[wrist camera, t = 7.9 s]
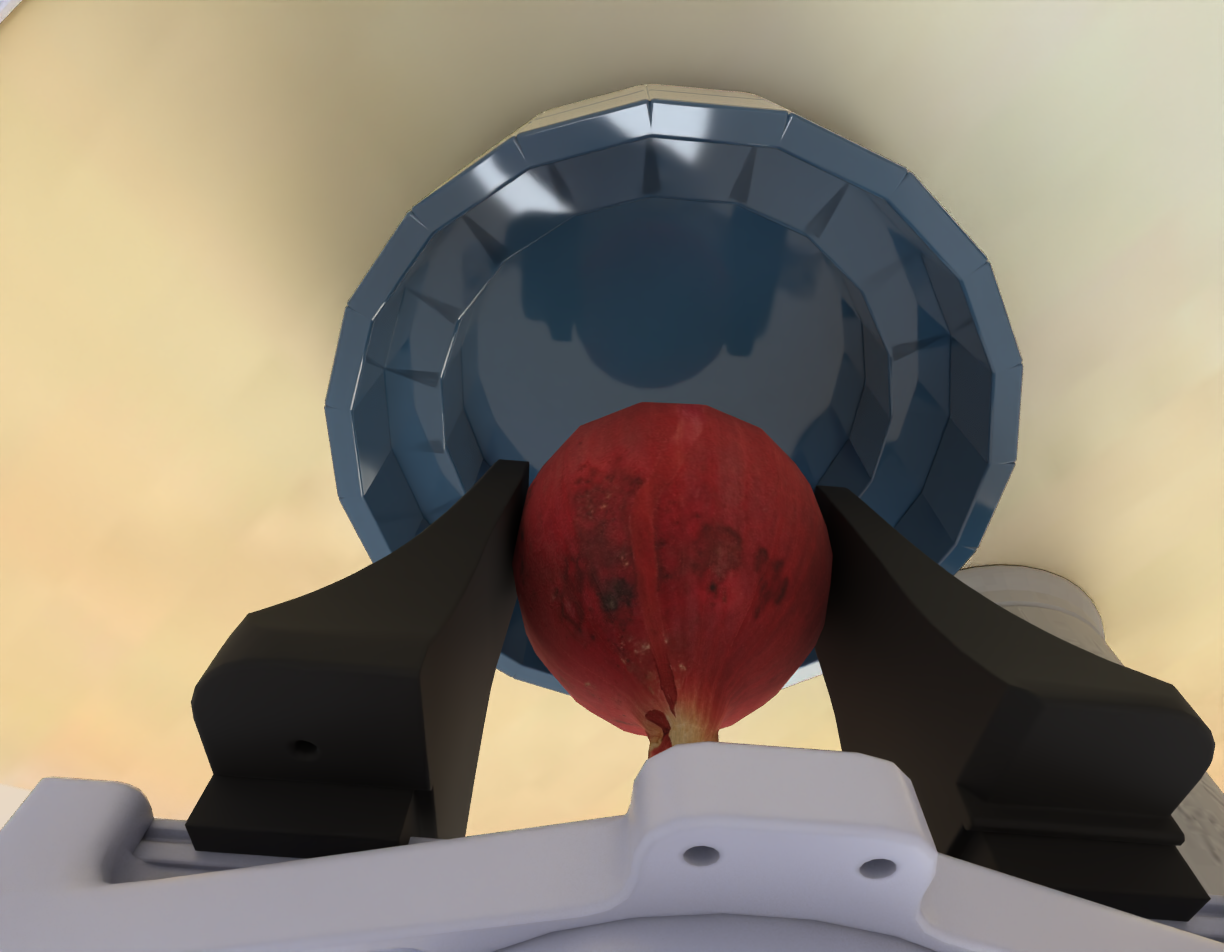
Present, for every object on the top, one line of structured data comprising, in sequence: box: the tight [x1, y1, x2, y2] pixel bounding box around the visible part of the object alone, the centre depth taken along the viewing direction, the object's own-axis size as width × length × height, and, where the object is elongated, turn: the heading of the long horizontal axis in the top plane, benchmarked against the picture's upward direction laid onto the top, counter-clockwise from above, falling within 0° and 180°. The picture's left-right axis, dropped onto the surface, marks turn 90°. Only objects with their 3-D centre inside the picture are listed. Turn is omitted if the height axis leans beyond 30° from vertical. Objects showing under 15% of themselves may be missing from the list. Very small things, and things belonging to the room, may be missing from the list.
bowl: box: [324, 83, 1023, 696], centre depth 18 cm, size 15×15×5 cm
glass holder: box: [954, 565, 1224, 895], centre depth 19 cm, size 9×14×15 cm, turn 73°
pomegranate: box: [512, 402, 833, 759], centre depth 13 cm, size 6×6×8 cm
